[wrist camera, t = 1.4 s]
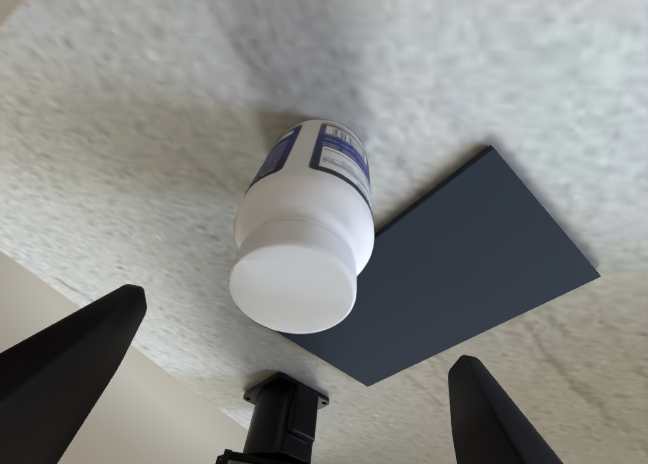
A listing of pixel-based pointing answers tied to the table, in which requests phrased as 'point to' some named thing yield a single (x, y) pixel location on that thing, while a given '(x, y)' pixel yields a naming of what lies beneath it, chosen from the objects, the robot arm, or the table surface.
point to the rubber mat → (451, 273)
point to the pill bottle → (304, 230)
